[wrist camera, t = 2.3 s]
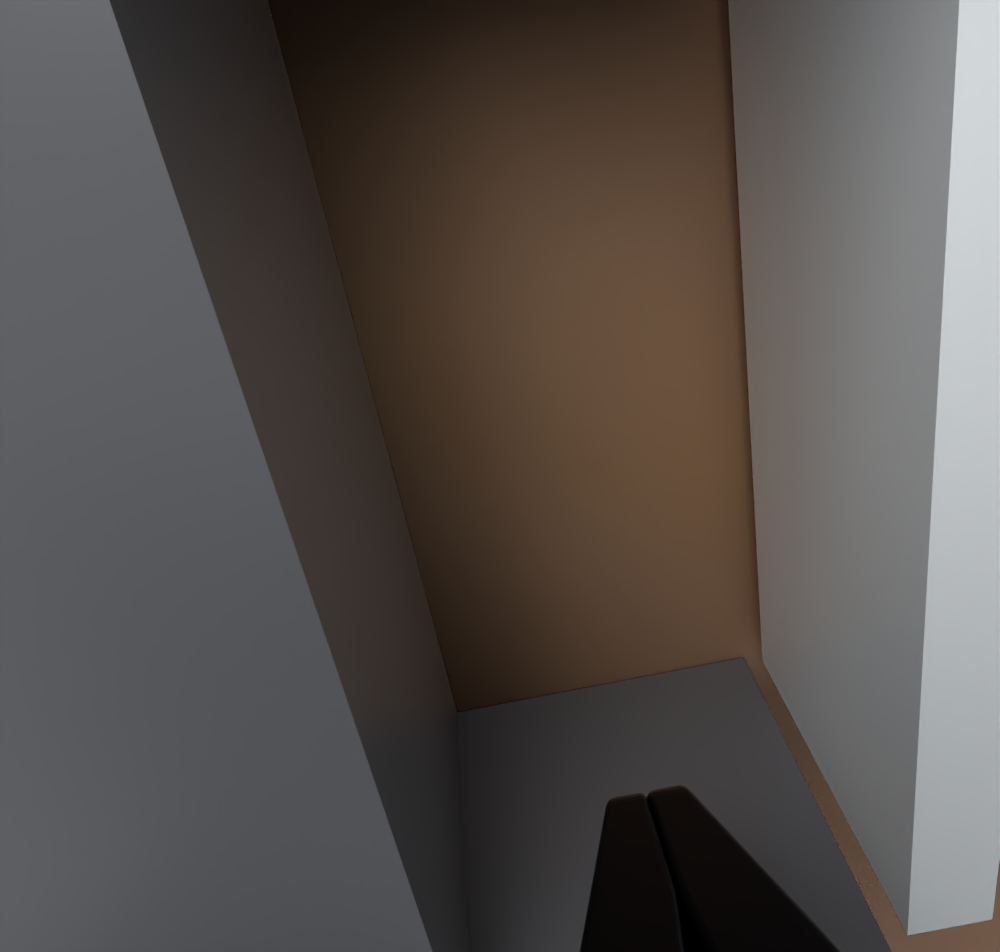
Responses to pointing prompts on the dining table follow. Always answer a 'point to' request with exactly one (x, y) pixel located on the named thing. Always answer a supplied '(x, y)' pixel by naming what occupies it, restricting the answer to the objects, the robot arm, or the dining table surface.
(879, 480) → the side door
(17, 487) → the grey hollow rectangular block
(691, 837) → the robot arm
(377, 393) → the dining table surface
